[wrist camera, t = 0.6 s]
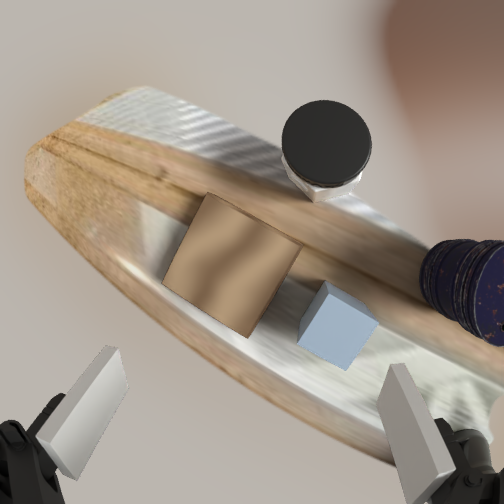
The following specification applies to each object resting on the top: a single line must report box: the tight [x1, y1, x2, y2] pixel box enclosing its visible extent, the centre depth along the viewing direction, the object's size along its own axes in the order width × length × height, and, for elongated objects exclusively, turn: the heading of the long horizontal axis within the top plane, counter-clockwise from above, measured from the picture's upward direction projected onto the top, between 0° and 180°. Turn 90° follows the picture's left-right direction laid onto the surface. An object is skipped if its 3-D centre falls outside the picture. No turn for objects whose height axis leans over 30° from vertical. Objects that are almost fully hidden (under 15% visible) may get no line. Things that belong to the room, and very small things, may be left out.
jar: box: [281, 100, 372, 203], centre depth 30 cm, size 9×8×12 cm
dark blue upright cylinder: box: [419, 239, 504, 347], centre depth 26 cm, size 10×10×15 cm
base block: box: [162, 192, 304, 339], centre depth 37 cm, size 13×13×4 cm
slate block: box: [297, 280, 379, 371], centre depth 32 cm, size 6×6×9 cm
